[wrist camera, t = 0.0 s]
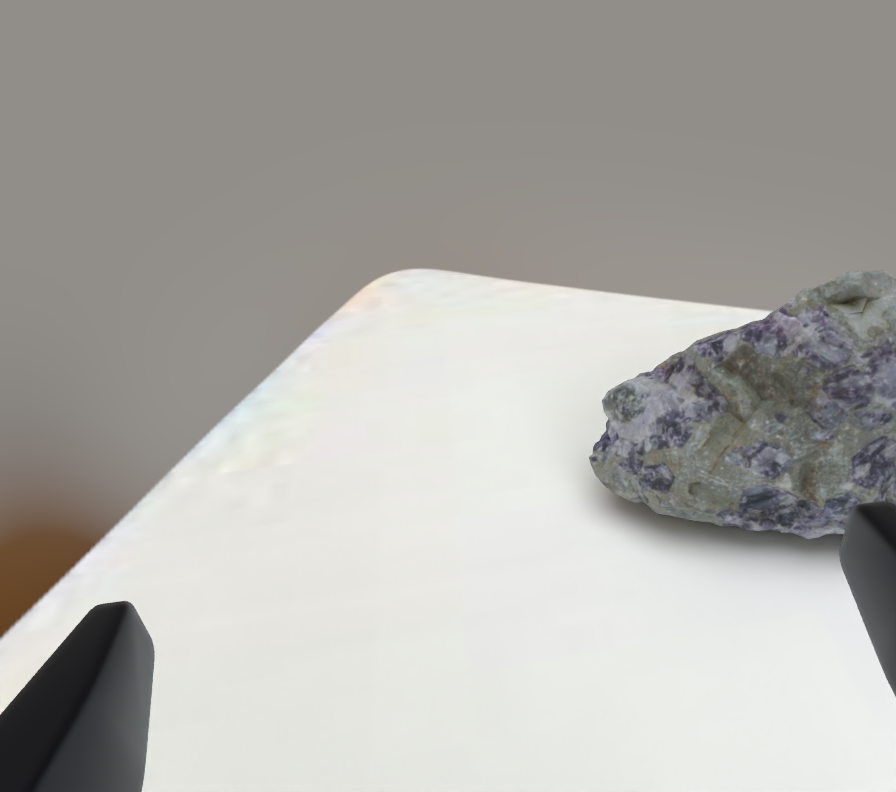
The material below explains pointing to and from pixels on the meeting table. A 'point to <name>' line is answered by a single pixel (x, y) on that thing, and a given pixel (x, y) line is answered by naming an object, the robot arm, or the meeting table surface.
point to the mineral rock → (767, 417)
